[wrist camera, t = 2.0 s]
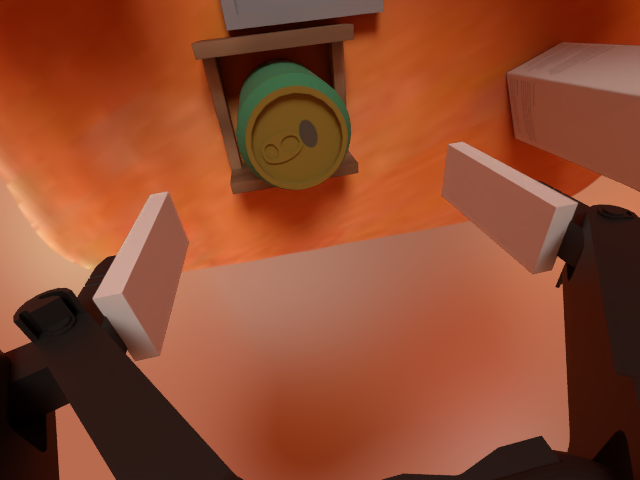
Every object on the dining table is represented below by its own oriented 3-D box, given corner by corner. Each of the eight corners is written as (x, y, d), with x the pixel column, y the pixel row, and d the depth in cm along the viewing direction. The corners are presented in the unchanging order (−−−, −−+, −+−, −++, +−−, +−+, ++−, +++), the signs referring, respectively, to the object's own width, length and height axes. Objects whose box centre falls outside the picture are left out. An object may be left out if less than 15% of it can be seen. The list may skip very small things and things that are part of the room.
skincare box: (563, 113, 38) (726, 159, 25) (509, 141, 38) (641, 200, 26) (562, 36, 33) (763, 45, 20) (501, 70, 34) (657, 99, 21)
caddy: (199, 40, 27) (191, 43, 23) (338, 23, 29) (353, 24, 24) (234, 173, 34) (233, 194, 30) (345, 155, 35) (358, 172, 31)
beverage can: (333, 127, 34) (369, 171, 24) (262, 158, 34) (268, 213, 24) (304, 43, 29) (334, 53, 19) (223, 79, 29) (211, 108, 20)
